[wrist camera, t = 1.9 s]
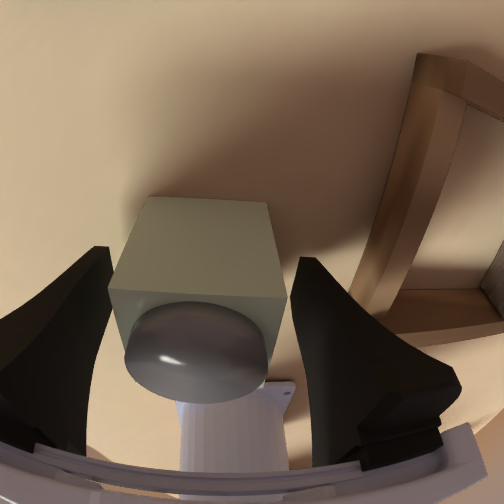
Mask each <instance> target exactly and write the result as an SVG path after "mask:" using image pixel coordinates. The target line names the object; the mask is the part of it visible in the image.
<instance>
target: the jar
mask: <svg viewBox="0 0 504 504" xmlns="http://www.w3.org/2000/svg"><path fill="white" fill-rule="evenodd" d="M108 292H109V296H110V300H111V304H112V307H113V311H114V315H115V319H116V322H117V326H118V329H119V333H120V336H121V339H122V343H123V346H124V349H125V356H124V358H125V365H126V368H127V370H128V372H129V373H130V375H131V376H132V377H133V378H134V380H135V382H138V383H139V384H140V385H141V386H143V387H144V388H146V389H147V390H149V391H151V392H153V393H155V394H157V395H159V396H162V397H165V398H168V399H171V400H175V401H180V402H186V403H195V404H213V403H222V402H227V401H231V400H235V399H238V398H241V397H243V396H245V395H248V394H249V393H251V392H253V391H254V390H256V389H257V388H263V386H264V383H265V379H266V377H267V374H268V369H269V365H270V362H271V358H272V355H273V351H274V347H275V344H276V340H277V336H278V333H279V329H280V325H281V321H282V317H283V314H284V310H285V306H286V302H287V298H288V297H287V292H286V288H285V283H284V279H283V274H282V269H281V265H280V260H279V256H278V252H277V247H276V243H275V238H274V234H273V230H272V225H271V221H270V217H269V212H268V208H267V204H266V202H253V201H238V200H222V199H204V198H183V197H157V196H148V198H147V200H146V202H145V204H144V206H143V208H142V210H141V213H140V215H139V217H138V219H137V221H136V223H135V225H134V227H133V230H132V232H131V234H130V236H129V238H128V241H127V243H126V245H125V247H124V250H123V252H122V254H121V257H120V259H119V261H118V264H117V266H116V268H115V271H114V273H113V276H112V278H111V281H110V283H109V286H108Z"/></svg>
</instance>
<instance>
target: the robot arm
mask: <svg viewBox="0 0 504 504" xmlns="http://www.w3.org/2000/svg"><path fill="white" fill-rule="evenodd" d="M113 273H114V271H113V266H112V261H111V256H110V250H109V247H104V246H94V247H93V248H91V249H90V250H89V251H88V252H86V253H85V254H84V255H83V256H82V257H81V258H80V259H78V260H77V261H76V262H75V263H74V264H73V265H72V266H70V267H69V268H68V269H67V270H66V271H65V272H64V273H63V274H61V275H60V276H59V277H58V278H57V279H55V280H54V281H53V282H52V283H51V284H49V285H48V286H47V287H46V288H45V289H43V290H42V291H41V292H40V293H38V294H37V295H36V296H35V297H33V298H32V299H30V300H29V301H28V302H26V303H25V304H24V305H22V306H21V307H19V308H18V309H16V310H14V311H13V312H11V313H10V314H8V315H6V316H5V317H3V318H2V319H0V498H2V499H4V500H6V501H8V502H10V503H12V504H437V503H439V502H441V501H443V500H445V499H447V498H449V497H451V496H453V495H455V494H457V493H459V492H461V491H463V490H465V489H467V488H469V487H470V486H473V485H474V484H476V483H478V482H480V481H482V480H483V479H485V478H486V477H487V476H488V474H487V471H486V468H485V465H484V462H483V459H482V456H481V453H480V450H479V447H478V445H477V442H476V439H475V437H474V434H473V431H472V429H471V426H470V424H469V423H464V424H462V425H459V426H456V427H454V428H451V429H448V430H446V431H444V432H442V433H441V434H440V432H439V430H438V427H439V426H441V423H442V422H441V420H440V417H439V415H441V414H442V413H443V412H444V411H445V410H446V409H447V408H448V407H449V406H450V405H452V404H453V403H454V402H455V400H456V399H457V398H458V397H459V395H460V393H461V391H462V387H461V384H460V382H459V380H458V378H457V376H456V374H455V372H454V370H453V368H452V367H451V366H449V365H447V364H445V363H443V362H441V361H439V360H437V359H434V358H432V357H430V356H429V355H427V354H425V353H423V352H422V351H420V350H418V349H416V348H415V347H413V346H411V345H410V344H408V343H407V342H405V341H404V340H402V339H401V338H399V337H398V336H397V335H395V334H394V333H392V332H391V331H390V330H388V329H387V328H386V327H384V326H383V325H382V324H381V323H380V322H378V321H377V320H376V319H375V318H374V317H372V316H371V315H370V314H369V313H368V312H367V311H366V310H365V309H364V308H362V307H361V306H360V305H359V304H358V303H357V302H356V301H355V300H354V299H353V298H352V297H351V296H350V295H349V294H348V293H347V292H346V290H345V289H344V288H343V287H342V286H341V285H340V284H339V283H338V282H337V281H336V280H335V278H334V277H333V276H332V275H331V274H330V273H329V272H328V271H327V269H326V268H325V267H324V266H323V265H322V264H321V263H320V262H319V261H318V260H317V259H316V258H315V257H300V259H299V263H298V267H297V271H296V275H295V279H294V283H293V287H292V291H291V295H290V301H291V310H292V318H293V323H294V327H295V331H296V335H297V339H298V343H299V347H300V351H301V355H302V359H303V363H304V368H305V373H306V378H307V386H308V395H309V404H310V415H311V430H312V461H313V463H312V468H307V469H298V470H290V469H289V462H288V454H287V447H286V439H285V432H284V424H283V415H284V413H285V411H286V409H287V407H288V405H289V403H290V400H291V398H292V396H293V394H294V392H295V390H296V385H295V383H294V382H290V381H288V382H265V383H264V386H263V388H257V389H256V390H254V391H253V392H251V393H249V394H248V395H245V396H243V397H241V398H238V399H235V400H231V401H227V402H222V403H213V404H195V403H186V402H180V401H175V402H176V407H177V412H178V417H179V421H180V426H181V448H180V471H173V470H162V469H153V468H145V467H138V466H131V465H125V464H119V463H114V462H108V461H103V460H99V459H94V458H89V457H86V427H87V412H88V402H89V393H90V386H91V380H92V374H93V368H94V364H95V360H96V356H97V353H98V350H99V347H100V344H101V341H102V338H103V335H104V332H105V329H106V326H107V323H108V320H109V317H110V314H111V311H112V308H113V307H112V304H111V300H110V296H109V292H108V286H109V283H110V281H111V278H112V276H113ZM83 478H84V479H83ZM86 479H88V480H86ZM89 480H92V481H96V482H101V483H105V484H110V485H115V486H120V487H126V488H132V489H139V490H146V491H153V492H161V493H171V494H179V499H167V498H158V497H150V496H143V495H136V494H130V493H124V492H118V491H111V490H106V489H104V488H102V486H101V485H100V484H98V483H95V482H92V481H89Z"/></svg>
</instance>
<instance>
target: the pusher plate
mask: <svg viewBox="0 0 504 504" xmlns="http://www.w3.org/2000/svg"><path fill="white" fill-rule="evenodd" d="M480 286H481V287H482V289H483V290H484V291H485V293H486V294H487V295H488V297H489V298H490V300H491V301H492V302H493V304H494V305H495V307H496V308H497V310H498V311H499V312H500V314H501V315H502V317H503V318H504V241H503V243H502V245H501V247H500V249H499V251H498V253H497V255H496V257H495V259H494V261H493V263H492V265H491V266H490V268H489V270H488V272H487V274H486V275H485V277H484V279H483V281H482V282H481V284H480Z"/></svg>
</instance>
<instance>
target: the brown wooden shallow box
mask: <svg viewBox="0 0 504 504" xmlns="http://www.w3.org/2000/svg"><path fill="white" fill-rule="evenodd" d="M467 104H468V105H470V106H472V107H474V108H477V109H479V110H481V111H483V112H485V113H487V114H489V115H491V116H492V117H494V118H496V119H498V120H500V121H502V122H504V82H502V81H501V80H499V79H497V78H496V77H494V76H493V75H491V74H489V73H488V72H486V71H484V70H483V69H481V68H479V67H477V66H476V65H474V64H472V63H470V62H468V61H464V60H459V59H453V58H448V57H441V56H435V55H427V54H419V53H417V57H416V63H415V69H414V74H413V79H412V84H411V89H410V94H409V99H408V103H407V108H406V112H405V116H404V121H403V125H402V129H401V133H400V137H399V141H398V145H397V148H396V152H395V156H394V160H393V163H392V167H391V170H390V174H389V177H388V180H387V184H386V187H385V190H384V194H383V197H382V200H381V203H380V206H379V210H378V213H377V216H376V219H375V222H374V225H373V228H372V231H371V233H370V236H369V239H368V242H367V245H366V248H365V250H364V253H363V256H362V259H361V261H360V264H359V267H358V269H357V272H356V275H355V277H354V280H353V282H352V285H351V287H350V290H349V292H348V294H349V295H350V296H351V297H352V298H353V299H354V300H355V301H356V302H357V303H358V304H359V305H360V306H361V307H362V308H364V309H365V310H366V311H367V312H368V313H369V314H370V315H371V316H372V317H374V318H375V319H376V320H377V321H378V322H380V323H381V324H382V325H383V326H384V327H386V328H387V329H388V330H390V331H391V332H392V333H394V334H395V335H397V336H398V337H399V338H401V339H402V340H404V341H405V342H407V343H408V344H410V345H411V346H413V347H423V346H431V345H438V344H445V343H451V342H457V341H463V340H469V339H475V338H480V337H486V336H491V335H496V334H501V333H504V318H503V317H502V315H501V314H500V312H499V311H498V310H497V308H496V307H495V305H494V304H493V302H492V301H491V300H490V298H489V297H488V295H487V294H486V293H485V291H484V290H483V289H443V290H399V289H400V287H401V285H402V283H403V281H404V279H405V277H406V275H407V273H408V270H409V268H410V266H411V264H412V262H413V260H414V257H415V255H416V253H417V251H418V248H419V246H420V244H421V241H422V239H423V237H424V234H425V232H426V229H427V227H428V225H429V222H430V220H431V217H432V214H433V212H434V209H435V207H436V204H437V201H438V199H439V196H440V193H441V190H442V187H443V184H444V182H445V179H446V176H447V173H448V170H449V166H450V163H451V160H452V157H453V154H454V150H455V147H456V143H457V140H458V136H459V133H460V129H461V125H462V121H463V117H464V113H465V109H466V105H467Z"/></svg>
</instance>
